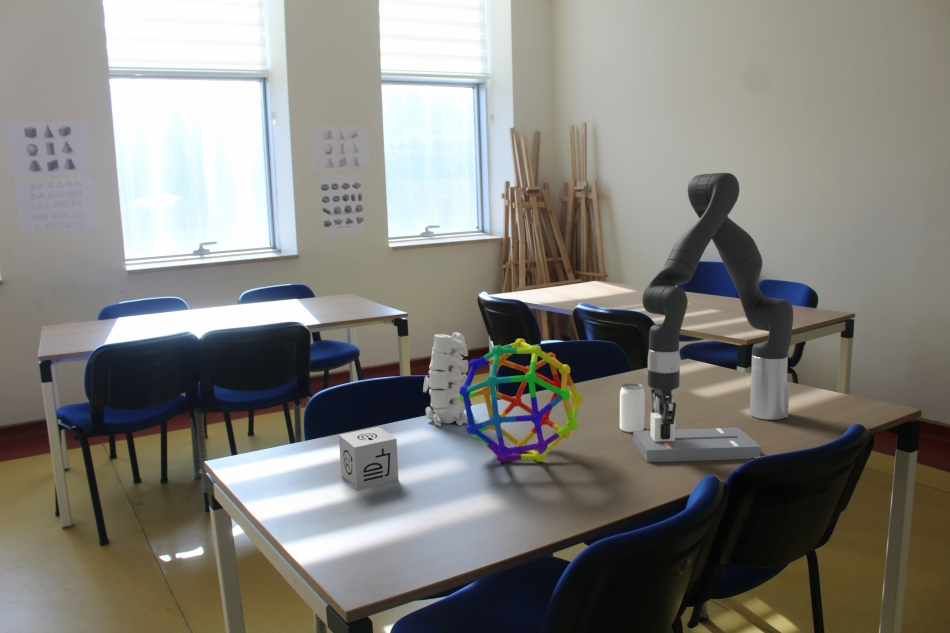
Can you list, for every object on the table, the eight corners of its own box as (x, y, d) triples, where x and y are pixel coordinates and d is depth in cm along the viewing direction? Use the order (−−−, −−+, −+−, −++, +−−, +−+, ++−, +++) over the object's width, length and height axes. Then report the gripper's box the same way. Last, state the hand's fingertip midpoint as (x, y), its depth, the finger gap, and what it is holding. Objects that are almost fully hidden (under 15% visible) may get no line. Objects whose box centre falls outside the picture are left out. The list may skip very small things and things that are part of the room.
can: (644, 433, 192) (645, 389, 190) (619, 432, 194) (619, 389, 191) (643, 425, 198) (644, 383, 196) (619, 424, 200) (620, 382, 198)
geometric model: (609, 353, 181) (498, 315, 189) (587, 378, 153) (458, 331, 161) (573, 462, 187) (467, 420, 195) (546, 504, 159) (424, 453, 168)
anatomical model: (478, 422, 205) (475, 335, 201) (438, 430, 200) (435, 340, 195) (461, 412, 215) (459, 329, 210) (423, 419, 209) (420, 334, 205)
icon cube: (398, 480, 166) (396, 438, 164) (357, 490, 161) (354, 447, 159) (381, 467, 174) (379, 426, 172) (341, 476, 169) (338, 434, 168)
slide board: (738, 438, 186) (738, 427, 186) (760, 458, 173) (760, 446, 172) (633, 442, 186) (633, 430, 186) (646, 462, 172) (647, 449, 172)
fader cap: (670, 435, 181) (670, 412, 180) (675, 441, 177) (675, 417, 176) (650, 436, 181) (650, 412, 180) (654, 441, 177) (654, 418, 176)
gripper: (688, 374, 169) (686, 445, 172) (670, 360, 183) (669, 425, 186) (655, 375, 169) (654, 446, 172) (641, 361, 183) (640, 426, 186)
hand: (662, 435), depth 179 cm, fingers closed on fader cap, 4 cm apart
